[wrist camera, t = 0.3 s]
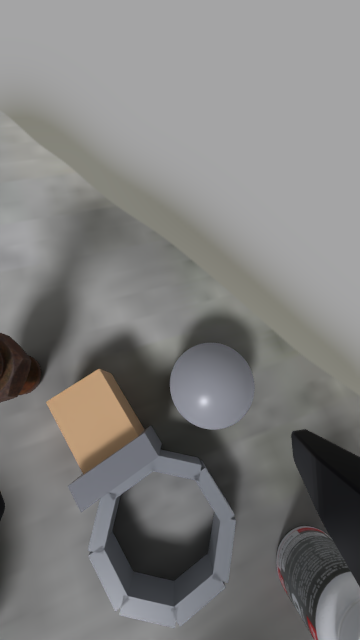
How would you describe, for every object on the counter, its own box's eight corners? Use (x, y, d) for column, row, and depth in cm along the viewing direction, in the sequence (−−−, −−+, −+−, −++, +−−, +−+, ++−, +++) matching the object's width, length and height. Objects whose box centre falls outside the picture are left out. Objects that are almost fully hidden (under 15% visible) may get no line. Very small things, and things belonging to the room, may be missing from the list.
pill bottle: (262, 573, 20) (325, 696, 12) (294, 509, 21) (371, 580, 13) (323, 620, 19) (433, 784, 11) (352, 551, 20) (472, 654, 12)
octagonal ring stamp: (250, 538, 20) (276, 584, 15) (143, 627, 19) (133, 711, 14) (137, 356, 23) (127, 345, 18) (39, 419, 22) (-1, 426, 17)
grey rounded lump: (257, 396, 23) (271, 396, 20) (197, 440, 22) (201, 448, 19) (214, 337, 24) (221, 327, 21) (156, 375, 23) (153, 372, 20)
